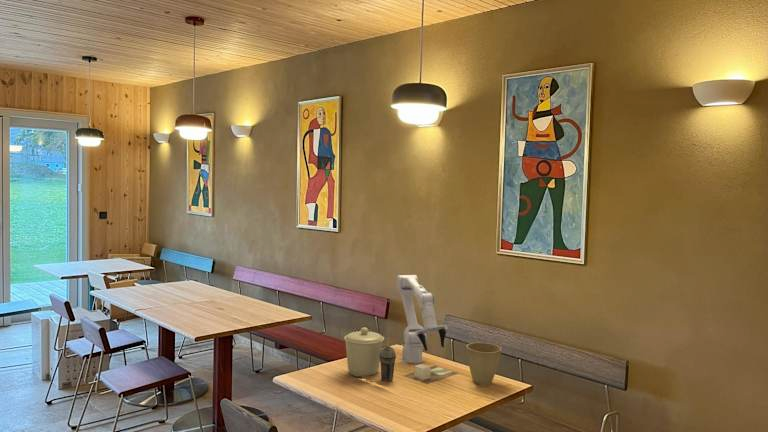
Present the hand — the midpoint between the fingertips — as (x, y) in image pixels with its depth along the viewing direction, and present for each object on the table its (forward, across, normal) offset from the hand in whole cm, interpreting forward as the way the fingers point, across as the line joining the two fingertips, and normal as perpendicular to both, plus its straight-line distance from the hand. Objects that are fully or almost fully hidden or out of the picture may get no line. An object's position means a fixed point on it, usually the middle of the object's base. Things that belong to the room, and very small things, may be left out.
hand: (434, 348), depth 245 cm
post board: (+10, -5, +8) cm, 14 cm away
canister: (+5, -34, 0) cm, 35 cm away
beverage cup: (+12, -22, -6) cm, 26 cm away
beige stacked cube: (+11, -8, +2) cm, 14 cm away
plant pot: (+17, +16, +10) cm, 25 cm away
